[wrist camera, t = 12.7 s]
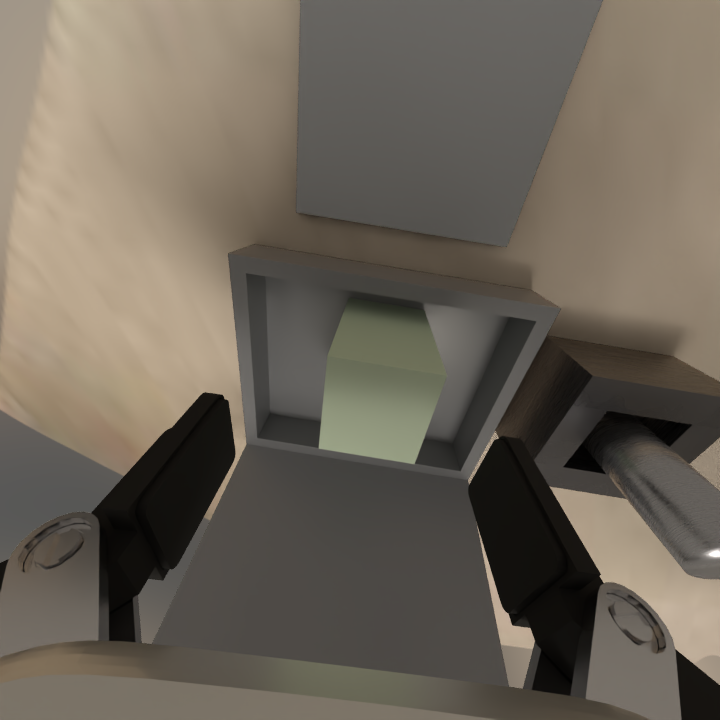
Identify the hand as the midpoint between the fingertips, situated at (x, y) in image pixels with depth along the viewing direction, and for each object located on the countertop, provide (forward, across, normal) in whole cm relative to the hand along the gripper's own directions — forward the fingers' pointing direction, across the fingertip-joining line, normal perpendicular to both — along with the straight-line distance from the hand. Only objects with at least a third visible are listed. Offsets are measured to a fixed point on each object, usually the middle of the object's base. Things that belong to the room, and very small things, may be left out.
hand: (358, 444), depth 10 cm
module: (+9, -1, 0) cm, 9 cm away
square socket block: (+9, -15, +2) cm, 17 cm away
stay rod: (+9, -15, +2) cm, 17 cm away
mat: (+9, -1, -11) cm, 14 cm away
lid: (0, -1, +10) cm, 10 cm away
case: (+9, -1, +2) cm, 10 cm away
